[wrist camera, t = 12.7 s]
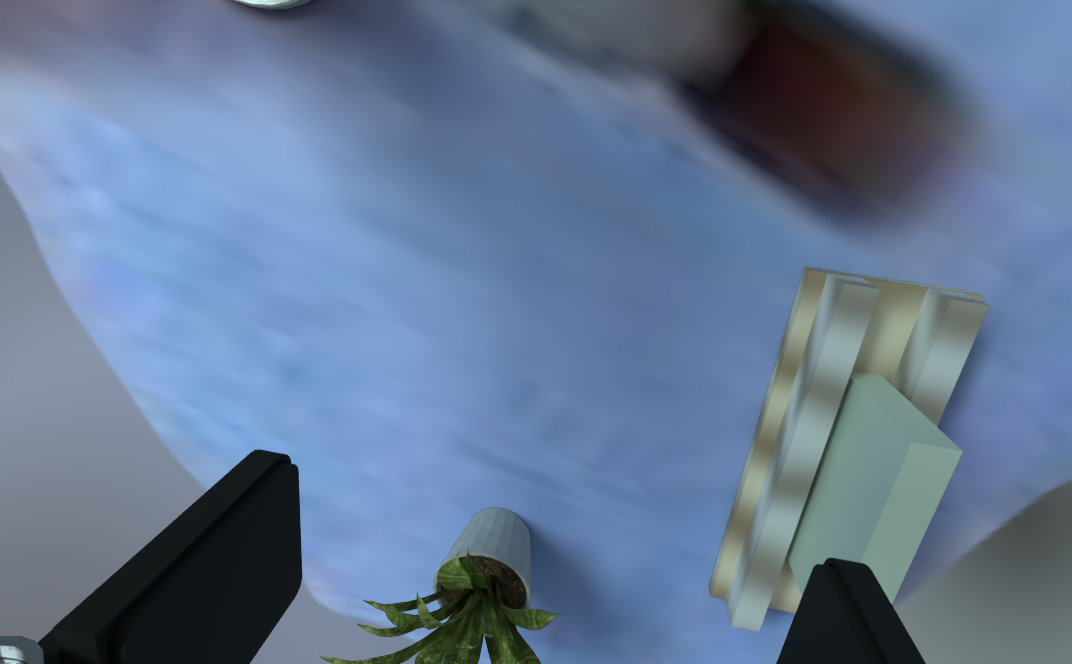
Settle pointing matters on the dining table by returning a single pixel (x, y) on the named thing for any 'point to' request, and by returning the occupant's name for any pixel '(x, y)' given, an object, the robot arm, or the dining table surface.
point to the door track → (789, 353)
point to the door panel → (873, 485)
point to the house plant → (472, 599)
